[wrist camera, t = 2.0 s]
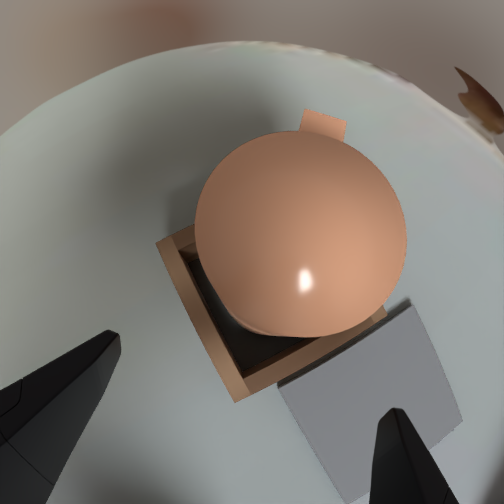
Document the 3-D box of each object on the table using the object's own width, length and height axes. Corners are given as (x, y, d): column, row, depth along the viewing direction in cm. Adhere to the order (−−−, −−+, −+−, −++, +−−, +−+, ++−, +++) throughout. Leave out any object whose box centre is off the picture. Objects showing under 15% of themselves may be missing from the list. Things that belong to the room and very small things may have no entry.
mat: (458, 419, 19) (462, 420, 18) (344, 501, 17) (346, 504, 17) (409, 305, 21) (413, 304, 20) (277, 387, 19) (278, 388, 19)
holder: (366, 318, 21) (387, 315, 17) (235, 391, 19) (234, 402, 16) (296, 195, 23) (305, 172, 19) (168, 257, 21) (155, 243, 18)
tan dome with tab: (300, 345, 20) (385, 358, 8) (211, 320, 20) (163, 298, 8) (330, 222, 22) (413, 107, 10) (249, 198, 23) (257, 58, 10)
